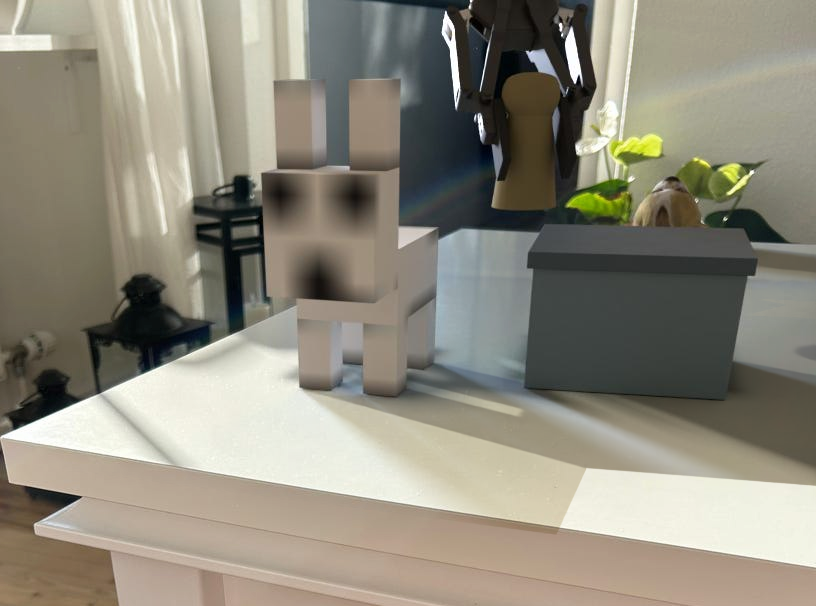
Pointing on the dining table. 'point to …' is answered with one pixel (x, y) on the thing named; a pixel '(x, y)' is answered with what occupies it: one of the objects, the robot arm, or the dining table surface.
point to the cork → (529, 142)
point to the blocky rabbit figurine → (348, 241)
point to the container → (636, 309)
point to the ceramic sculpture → (668, 207)
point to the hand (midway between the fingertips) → (536, 169)
